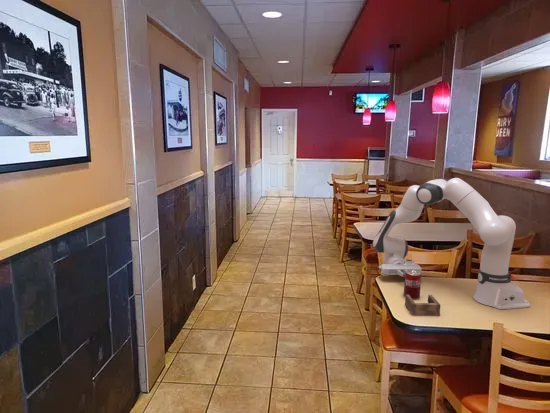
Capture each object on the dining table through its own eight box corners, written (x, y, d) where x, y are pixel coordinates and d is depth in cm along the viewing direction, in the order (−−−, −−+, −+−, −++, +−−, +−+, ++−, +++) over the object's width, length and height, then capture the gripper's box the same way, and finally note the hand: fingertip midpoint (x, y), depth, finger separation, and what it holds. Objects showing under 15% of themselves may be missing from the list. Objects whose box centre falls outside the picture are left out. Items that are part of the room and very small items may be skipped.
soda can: (421, 300, 176) (422, 276, 173) (404, 299, 177) (406, 274, 175) (418, 294, 183) (420, 270, 180) (402, 293, 184) (404, 269, 182)
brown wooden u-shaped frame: (430, 305, 171) (431, 294, 170) (439, 315, 161) (440, 304, 160) (404, 304, 171) (405, 294, 170) (411, 315, 161) (412, 304, 161)
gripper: (378, 260, 204) (384, 269, 191) (416, 260, 203) (425, 269, 190) (377, 271, 205) (383, 281, 192) (415, 271, 205) (424, 281, 191)
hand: (404, 275), depth 191 cm, fingers closed
